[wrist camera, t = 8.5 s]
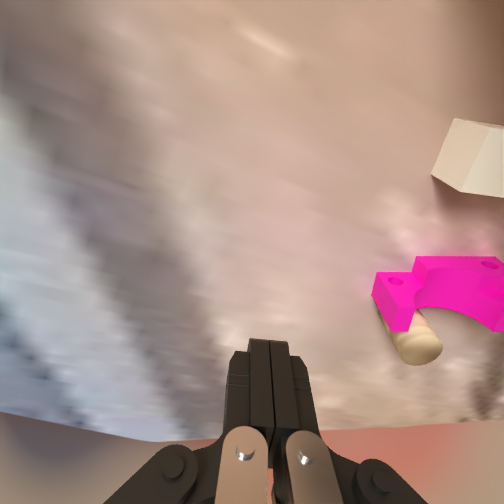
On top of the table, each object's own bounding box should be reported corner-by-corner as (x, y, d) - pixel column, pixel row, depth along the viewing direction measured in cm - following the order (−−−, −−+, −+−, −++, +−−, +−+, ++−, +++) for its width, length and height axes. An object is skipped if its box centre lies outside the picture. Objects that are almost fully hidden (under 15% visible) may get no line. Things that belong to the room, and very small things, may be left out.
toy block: (493, 255, 43) (537, 290, 36) (476, 294, 46) (514, 331, 39) (380, 255, 42) (403, 289, 36) (370, 293, 46) (391, 331, 39)
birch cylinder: (386, 292, 45) (411, 333, 38) (419, 297, 46) (450, 339, 39) (373, 319, 48) (394, 362, 41) (404, 323, 48) (430, 367, 41)
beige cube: (453, 118, 34) (490, 127, 29) (507, 126, 34) (552, 137, 29) (430, 173, 37) (460, 191, 32) (479, 180, 37) (517, 199, 32)
